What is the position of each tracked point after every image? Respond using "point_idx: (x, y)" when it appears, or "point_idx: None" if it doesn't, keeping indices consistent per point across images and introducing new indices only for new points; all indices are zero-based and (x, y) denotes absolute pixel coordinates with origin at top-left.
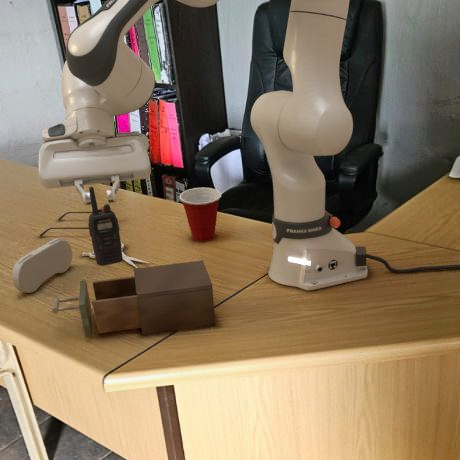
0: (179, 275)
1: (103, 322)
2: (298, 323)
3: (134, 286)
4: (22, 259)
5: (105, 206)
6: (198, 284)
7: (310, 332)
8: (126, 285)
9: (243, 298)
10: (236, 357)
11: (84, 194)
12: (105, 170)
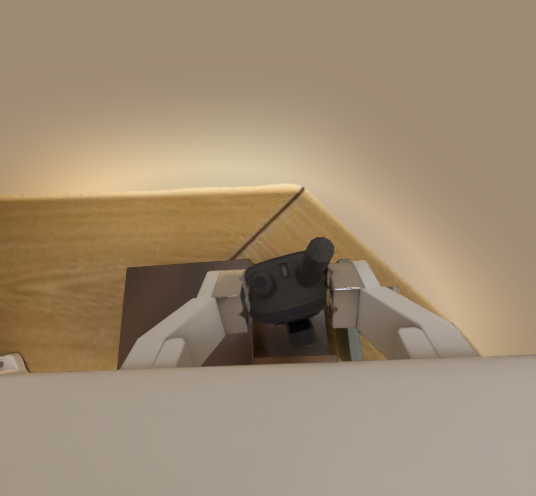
0: None
1: None
2: (70, 262)
3: (259, 354)
4: None
5: (265, 274)
6: (147, 273)
7: (67, 238)
8: (273, 354)
9: (109, 354)
10: (159, 201)
11: (364, 279)
12: (190, 387)
